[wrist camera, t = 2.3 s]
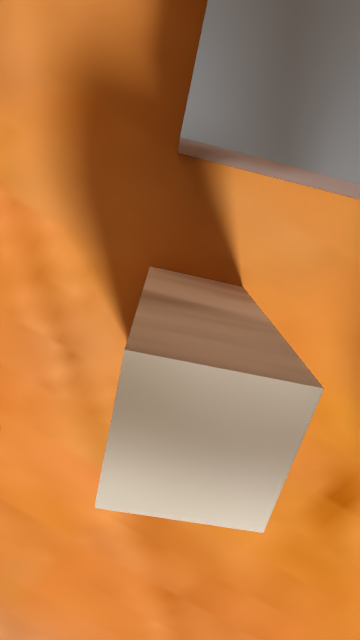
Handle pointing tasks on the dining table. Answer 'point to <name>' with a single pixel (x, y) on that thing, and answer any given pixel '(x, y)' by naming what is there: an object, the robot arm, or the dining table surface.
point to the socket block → (279, 91)
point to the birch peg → (204, 407)
